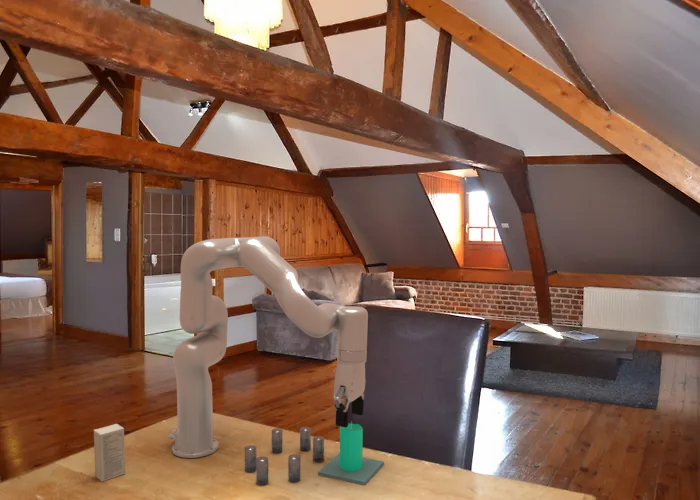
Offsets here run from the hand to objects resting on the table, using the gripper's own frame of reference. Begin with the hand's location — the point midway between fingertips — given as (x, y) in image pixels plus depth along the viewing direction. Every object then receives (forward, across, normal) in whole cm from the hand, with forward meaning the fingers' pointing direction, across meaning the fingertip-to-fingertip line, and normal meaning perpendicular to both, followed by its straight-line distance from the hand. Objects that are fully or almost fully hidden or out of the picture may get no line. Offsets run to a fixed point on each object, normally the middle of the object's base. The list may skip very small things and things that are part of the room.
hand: (349, 420), depth 150 cm
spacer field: (+14, +5, -16) cm, 22 cm away
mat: (+13, 0, +1) cm, 13 cm away
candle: (+12, 0, +1) cm, 13 cm away
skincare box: (+15, +29, -53) cm, 62 cm away
